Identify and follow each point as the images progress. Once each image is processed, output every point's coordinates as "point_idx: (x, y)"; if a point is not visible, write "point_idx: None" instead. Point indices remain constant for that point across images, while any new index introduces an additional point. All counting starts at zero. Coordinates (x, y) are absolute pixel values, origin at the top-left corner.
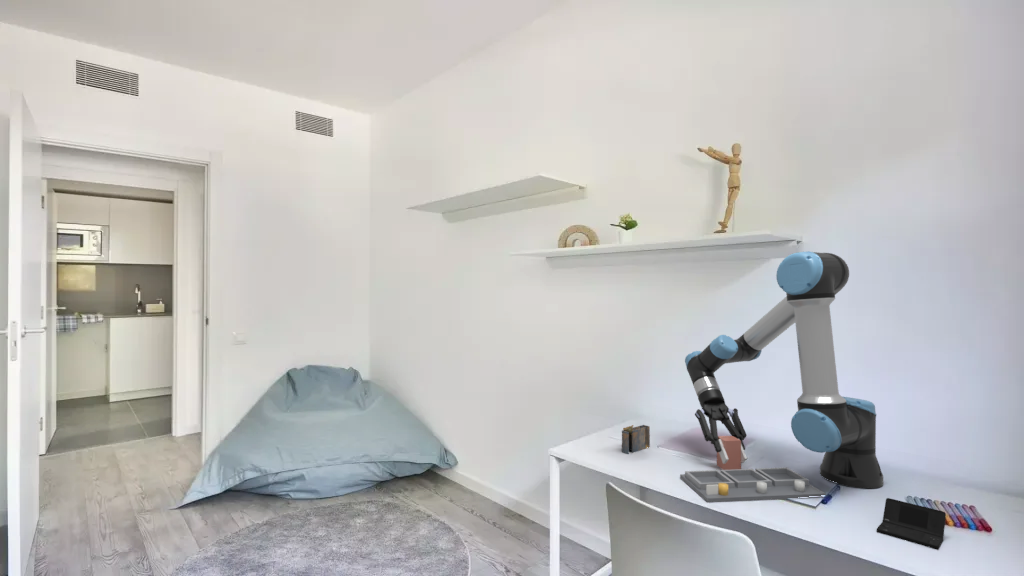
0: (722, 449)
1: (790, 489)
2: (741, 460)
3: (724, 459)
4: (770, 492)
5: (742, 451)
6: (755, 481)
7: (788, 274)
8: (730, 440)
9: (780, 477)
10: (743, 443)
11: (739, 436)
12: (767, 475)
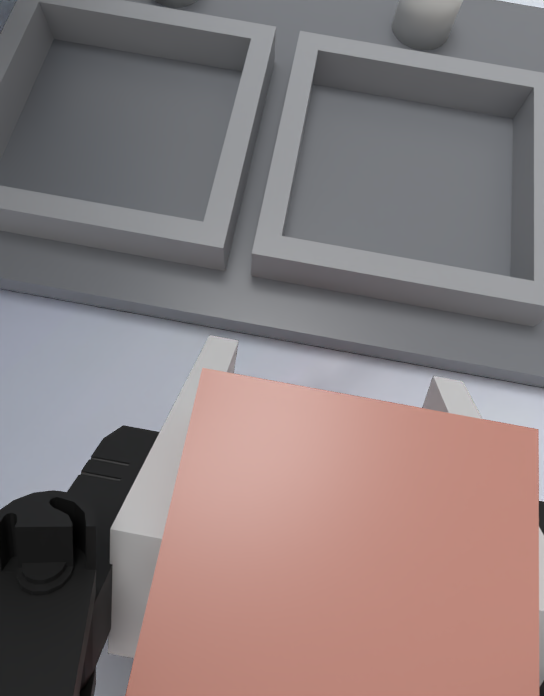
0: None
1: (217, 9)
2: None
3: None
4: (371, 12)
5: None
6: (419, 55)
7: None
8: (408, 426)
9: (97, 162)
10: (71, 488)
11: (94, 519)
12: (246, 110)
